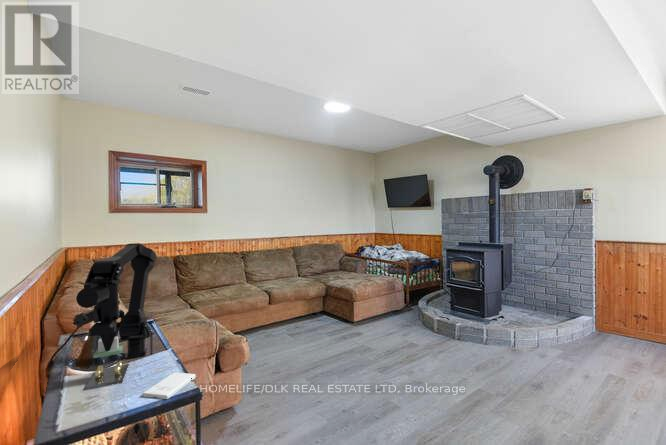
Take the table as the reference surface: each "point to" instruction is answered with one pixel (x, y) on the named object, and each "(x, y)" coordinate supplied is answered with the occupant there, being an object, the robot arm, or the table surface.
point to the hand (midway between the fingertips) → (108, 349)
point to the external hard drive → (169, 385)
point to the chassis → (107, 376)
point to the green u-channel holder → (114, 350)
